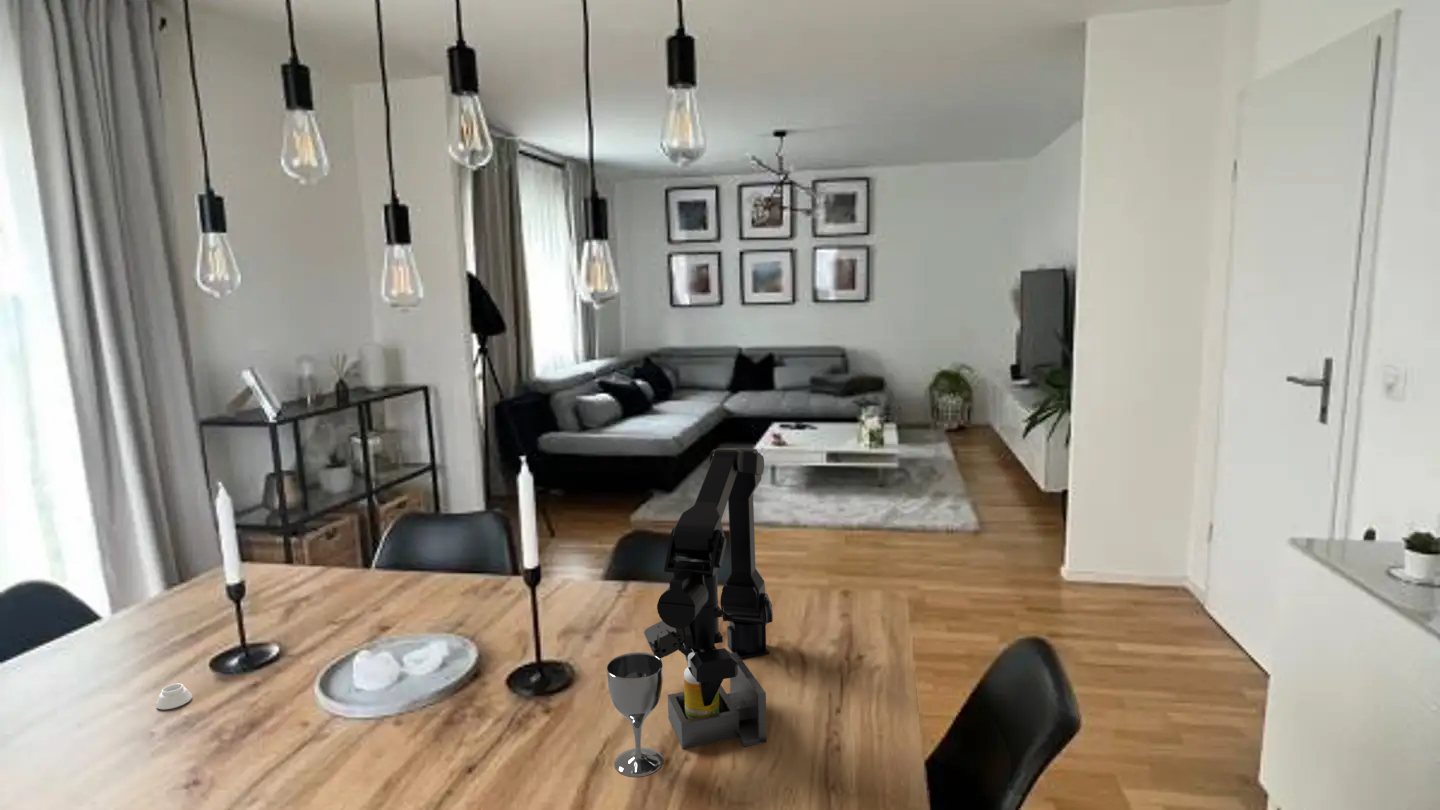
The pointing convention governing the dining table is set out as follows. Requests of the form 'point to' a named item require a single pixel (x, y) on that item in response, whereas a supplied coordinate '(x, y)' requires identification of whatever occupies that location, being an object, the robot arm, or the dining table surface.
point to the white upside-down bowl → (173, 696)
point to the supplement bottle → (696, 696)
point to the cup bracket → (724, 714)
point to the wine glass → (636, 706)
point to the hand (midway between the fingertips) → (702, 696)
